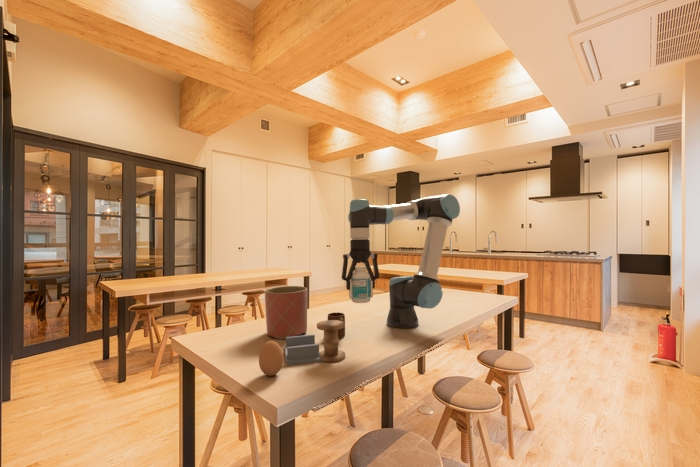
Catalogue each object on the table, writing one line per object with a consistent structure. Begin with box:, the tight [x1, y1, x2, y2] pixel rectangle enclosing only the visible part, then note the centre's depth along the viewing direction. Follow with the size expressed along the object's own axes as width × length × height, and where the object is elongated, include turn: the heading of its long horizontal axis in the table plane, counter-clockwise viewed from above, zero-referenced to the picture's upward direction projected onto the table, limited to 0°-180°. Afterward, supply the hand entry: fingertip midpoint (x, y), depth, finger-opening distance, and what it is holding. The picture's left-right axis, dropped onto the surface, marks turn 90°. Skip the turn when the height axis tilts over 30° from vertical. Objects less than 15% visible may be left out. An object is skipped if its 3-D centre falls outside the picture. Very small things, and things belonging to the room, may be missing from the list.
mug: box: [327, 312, 346, 339], centre depth 137 cm, size 12×8×9 cm, turn 23°
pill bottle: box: [350, 266, 371, 304], centre depth 124 cm, size 8×7×14 cm
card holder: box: [284, 333, 323, 367], centre depth 118 cm, size 12×18×5 cm, turn 14°
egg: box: [258, 340, 284, 377], centre depth 101 cm, size 8×8×11 cm
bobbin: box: [316, 319, 346, 364], centre depth 114 cm, size 10×10×12 cm
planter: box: [264, 285, 308, 341], centre depth 144 cm, size 19×19×20 cm
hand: (360, 297), depth 124 cm, fingers closed on pill bottle, 7 cm apart
